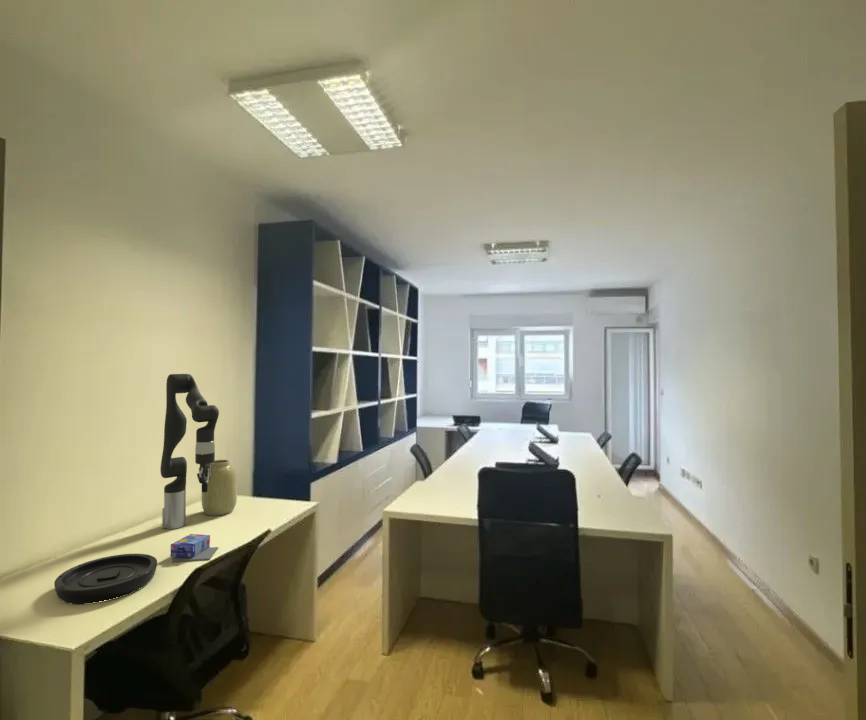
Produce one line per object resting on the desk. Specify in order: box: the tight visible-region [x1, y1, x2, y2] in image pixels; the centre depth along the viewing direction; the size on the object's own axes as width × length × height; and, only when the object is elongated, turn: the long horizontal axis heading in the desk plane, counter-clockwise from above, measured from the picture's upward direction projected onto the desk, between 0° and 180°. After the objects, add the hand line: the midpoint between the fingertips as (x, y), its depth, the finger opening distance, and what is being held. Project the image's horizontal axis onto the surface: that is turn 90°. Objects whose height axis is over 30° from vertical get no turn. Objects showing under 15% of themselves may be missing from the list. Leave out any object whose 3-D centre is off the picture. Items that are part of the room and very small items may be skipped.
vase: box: [201, 459, 238, 517], centre depth 250 cm, size 17×17×27 cm
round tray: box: [53, 553, 158, 605], centre depth 167 cm, size 30×6×30 cm
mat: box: [171, 546, 219, 563], centre depth 193 cm, size 14×12×1 cm
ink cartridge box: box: [170, 533, 211, 558], centre depth 194 cm, size 10×6×14 cm
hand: (204, 491), depth 202 cm, fingers closed
